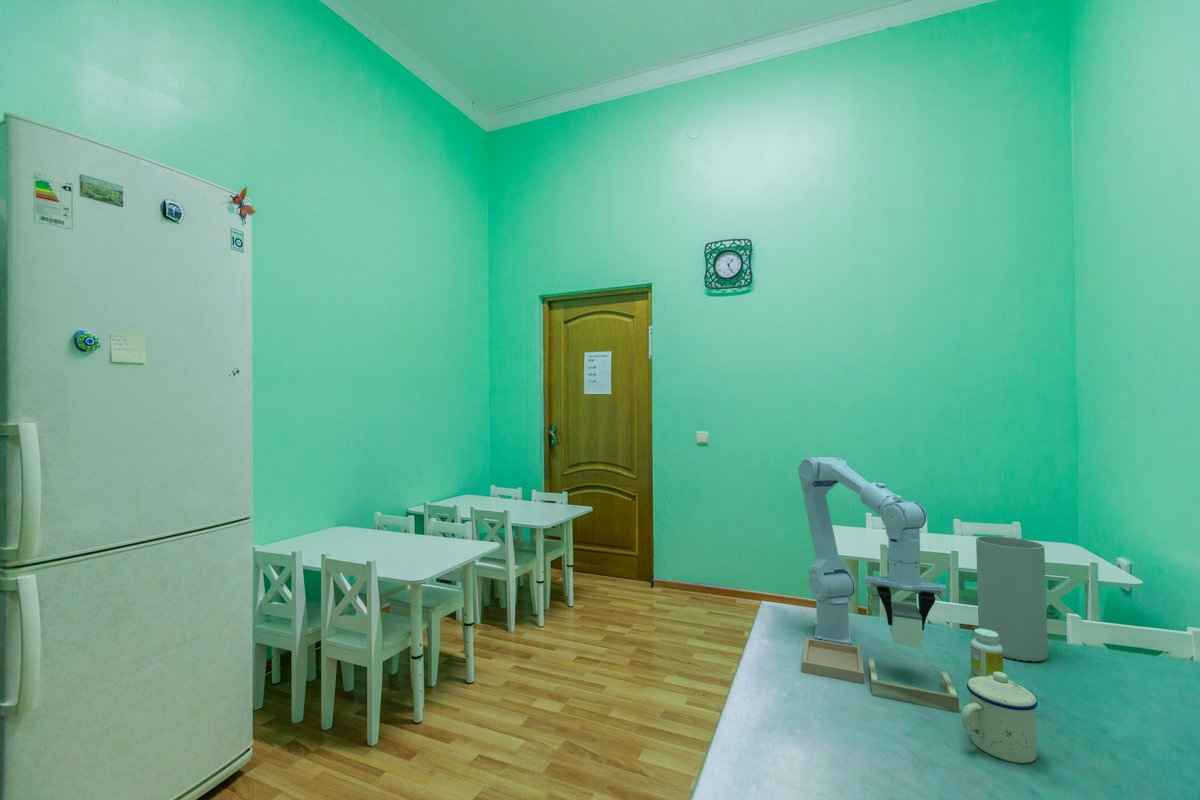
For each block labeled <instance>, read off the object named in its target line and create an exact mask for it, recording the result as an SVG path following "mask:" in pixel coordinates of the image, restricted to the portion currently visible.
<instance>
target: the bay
mask: <svg viewBox="0 0 1200 800" xmlns="http://www.w3.org/2000/svg"><path fill="white" fill-rule="evenodd" d="M876 670H877V669H876V664H875V659H873V658H868V675H869V681H870V682H869V683H870V689H871V696H875V697H880V698H884V699H885V698H886V699H890V700H896V701H901V702H905V703H910V704H914V705H915V704H916V705H921V706H926V707H931V708H936V709H941V710H945V711H949V712H950V711H951V712H954V713H955V712H957V713H960V699H959V698H960V697H959V696H958V694H957V691H956V689H955V687H954V684H953V683H952V680H951V678H950V676H949V674H948V672H947V671H944V670H940V685H941V687H942V689H943V691H944V692H942V691H935V690H928V689H924V688H918V687H913V686H909V685H908V686H907V685H902V684H899V683H891V682H886V681H881V680H878V674H877V671H876Z"/></svg>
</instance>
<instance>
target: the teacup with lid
mask: <svg viewBox="0 0 1200 800" xmlns="http://www.w3.org/2000/svg"><path fill="white" fill-rule="evenodd" d="M966 688H967V690H968V704H966V705H965V706H964V707H963V709H962V711H961V715H960V716H961V717H960V718H961V723H962V726H963V728H964V729H965V731H966V732H967V733H968V734H969V738H970V740H971V741H972V743H973V744H974V745H975V746H976V747H977V748H978V749H980V750H982V751H983V752H985V753H986V754H988V755H990V756H992V757H996V758H997V759H1001V760H1003V761H1007V762H1013V763H1018V764H1027V763H1029V764H1030V763H1032V762H1034V761H1035V760H1036V759H1037V757H1038V744H1037V743H1038V742H1037V740H1038V739H1037V712H1036V708H1037V707H1038V701H1037V699H1036V697H1035V695H1034V694H1033V693H1032V692H1031V691H1030V690H1028V689H1027V688H1026V687H1023V686H1022V685H1019V684H1017V683H1015V682H1014V681H1012V680H1010V679H1009V676H1008V674H1006V673H1004V672H1003V673H1002V672H994V673H993V676H987V677H984V676H979V677H971V678H970V679H968V681H967V683H966Z"/></svg>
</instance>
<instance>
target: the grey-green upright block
mask: <svg viewBox="0 0 1200 800" xmlns="http://www.w3.org/2000/svg"><path fill="white" fill-rule="evenodd" d="M891 614H892V625H889V631H890V635H891V639H892V642H893V644H895V645H899V646H900V645H901V646H907V647H914V648H919V649H923V647H924V646H923V630H922V616H921V614H920V612H919V606H918V605H917V604H914V603H906V602H898V601H892V600H891Z"/></svg>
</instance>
